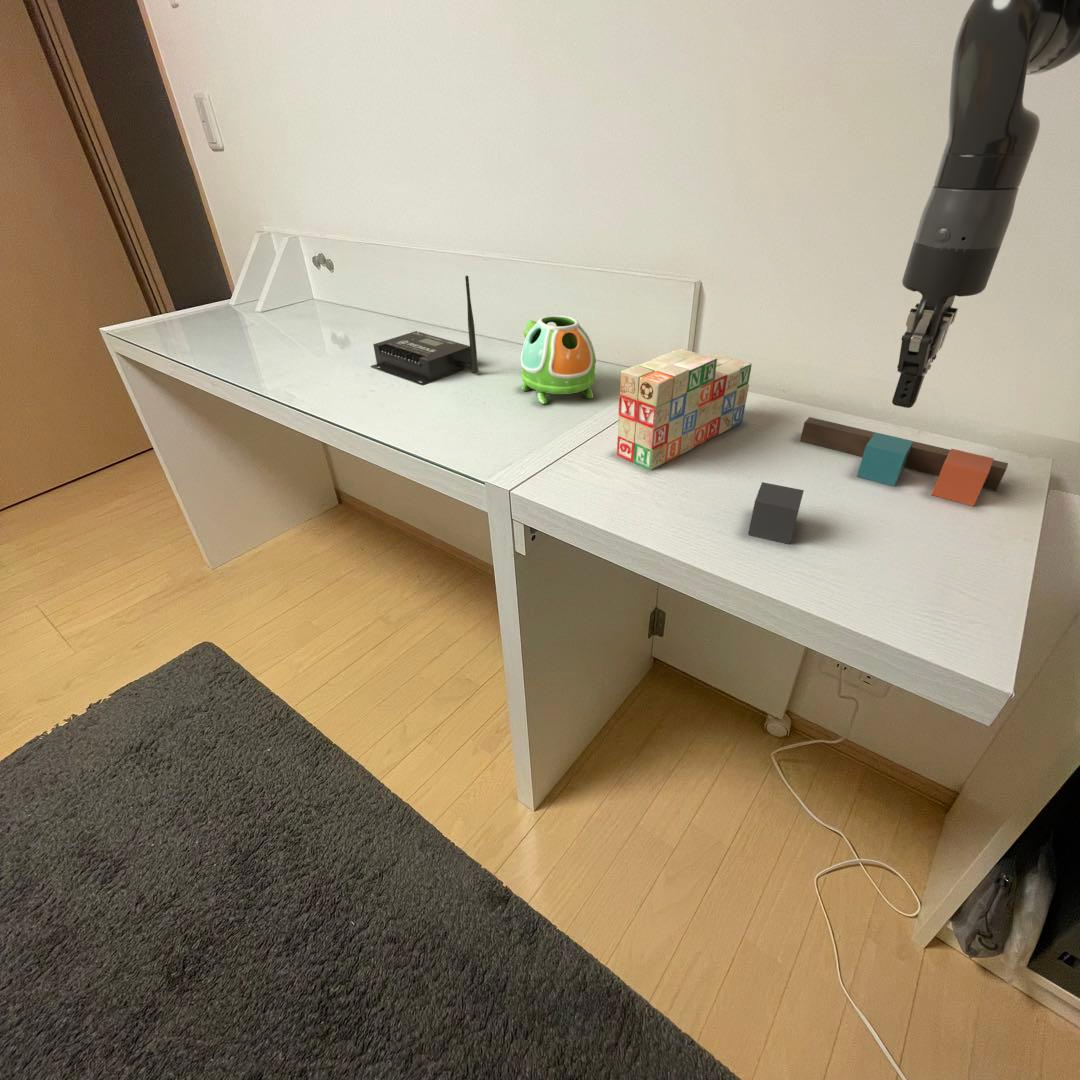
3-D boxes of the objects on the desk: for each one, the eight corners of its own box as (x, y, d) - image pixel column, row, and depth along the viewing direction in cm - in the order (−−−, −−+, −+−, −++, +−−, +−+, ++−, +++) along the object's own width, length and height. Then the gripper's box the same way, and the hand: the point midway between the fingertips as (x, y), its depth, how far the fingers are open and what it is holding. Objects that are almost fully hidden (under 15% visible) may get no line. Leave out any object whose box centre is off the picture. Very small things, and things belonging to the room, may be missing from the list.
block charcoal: (795, 523, 70) (803, 490, 68) (789, 544, 67) (798, 510, 64) (754, 515, 72) (762, 481, 69) (747, 535, 69) (754, 501, 66)
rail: (998, 484, 76) (1008, 463, 74) (996, 491, 75) (1006, 469, 73) (804, 436, 88) (809, 416, 87) (799, 441, 87) (804, 421, 85)
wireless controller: (369, 366, 117) (351, 271, 107) (425, 347, 126) (413, 258, 116) (437, 390, 106) (424, 287, 96) (494, 368, 115) (487, 271, 105)
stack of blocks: (708, 411, 96) (720, 332, 89) (742, 423, 92) (757, 342, 85) (615, 455, 85) (620, 369, 78) (650, 471, 81) (658, 382, 74)
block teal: (902, 472, 79) (913, 440, 77) (894, 486, 76) (906, 454, 74) (865, 462, 82) (875, 432, 79) (856, 476, 79) (866, 444, 76)
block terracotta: (979, 490, 75) (994, 458, 72) (973, 506, 72) (988, 473, 70) (938, 480, 77) (951, 448, 75) (931, 495, 75) (944, 462, 72)
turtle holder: (563, 365, 115) (562, 299, 108) (609, 399, 101) (612, 326, 94) (501, 376, 111) (497, 308, 104) (540, 412, 98) (538, 337, 91)
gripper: (992, 253, 54) (926, 432, 64) (1011, 232, 63) (950, 393, 72) (899, 245, 58) (851, 416, 68) (929, 227, 67) (882, 381, 76)
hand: (903, 404), depth 70 cm, fingers closed
